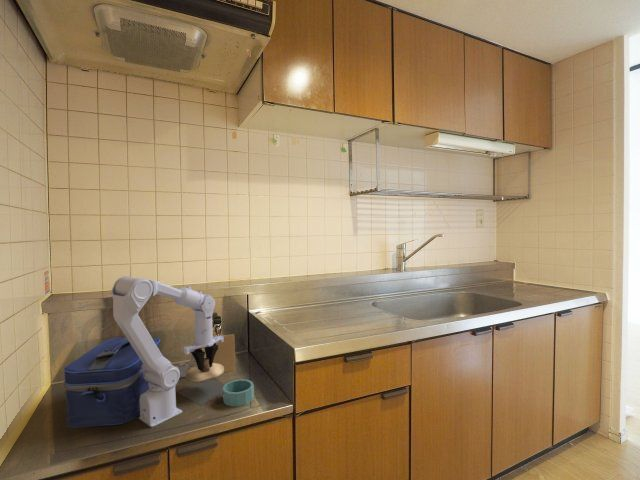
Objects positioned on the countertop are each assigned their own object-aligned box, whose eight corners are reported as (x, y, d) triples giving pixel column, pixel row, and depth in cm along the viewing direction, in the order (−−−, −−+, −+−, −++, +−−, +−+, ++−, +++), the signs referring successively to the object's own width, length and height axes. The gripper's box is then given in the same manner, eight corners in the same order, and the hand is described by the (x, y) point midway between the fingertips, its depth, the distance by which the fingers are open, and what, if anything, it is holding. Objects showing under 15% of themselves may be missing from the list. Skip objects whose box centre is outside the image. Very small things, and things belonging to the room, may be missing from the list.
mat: (200, 405, 107) (200, 404, 107) (178, 394, 115) (178, 393, 115) (233, 389, 118) (233, 388, 118) (210, 379, 126) (210, 378, 126)
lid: (200, 385, 107) (199, 370, 107) (178, 375, 115) (178, 361, 115) (231, 370, 117) (231, 357, 117) (210, 362, 125) (209, 349, 125)
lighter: (177, 379, 127) (176, 358, 126) (176, 377, 128) (176, 356, 128) (197, 375, 129) (196, 355, 129) (196, 373, 131) (196, 353, 131)
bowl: (236, 410, 104) (236, 396, 104) (217, 401, 110) (216, 388, 110) (259, 397, 112) (259, 384, 112) (240, 389, 117) (240, 376, 117)
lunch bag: (129, 431, 95) (126, 360, 94) (48, 438, 93) (44, 365, 92) (167, 380, 126) (164, 326, 125) (107, 385, 123) (104, 329, 122)
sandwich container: (228, 357, 146) (227, 323, 145) (236, 371, 132) (234, 334, 132) (208, 361, 143) (206, 326, 142) (213, 376, 129) (211, 337, 128)
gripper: (191, 337, 107) (192, 379, 108) (228, 325, 119) (229, 363, 119) (179, 333, 111) (180, 373, 112) (216, 322, 123) (217, 359, 124)
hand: (205, 368), depth 116 cm, fingers closed on lid, 3 cm apart
